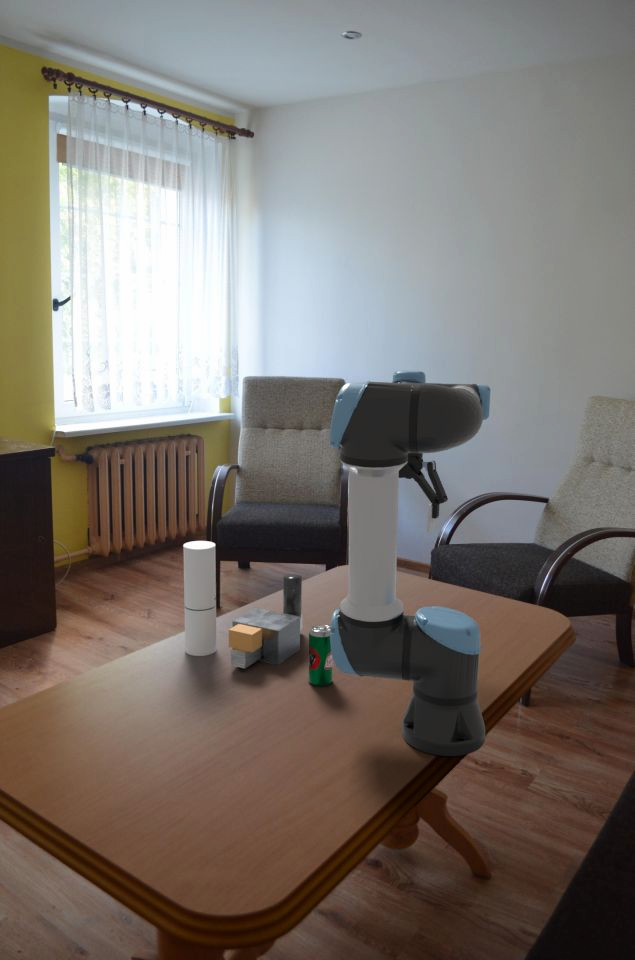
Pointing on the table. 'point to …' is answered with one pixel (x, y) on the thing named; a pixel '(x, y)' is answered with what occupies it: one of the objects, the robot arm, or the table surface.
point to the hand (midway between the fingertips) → (403, 527)
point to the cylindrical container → (200, 597)
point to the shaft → (290, 606)
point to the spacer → (245, 637)
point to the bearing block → (274, 633)
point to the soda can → (320, 656)
